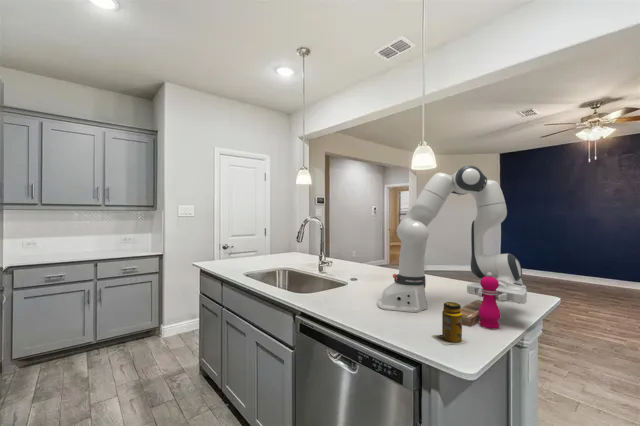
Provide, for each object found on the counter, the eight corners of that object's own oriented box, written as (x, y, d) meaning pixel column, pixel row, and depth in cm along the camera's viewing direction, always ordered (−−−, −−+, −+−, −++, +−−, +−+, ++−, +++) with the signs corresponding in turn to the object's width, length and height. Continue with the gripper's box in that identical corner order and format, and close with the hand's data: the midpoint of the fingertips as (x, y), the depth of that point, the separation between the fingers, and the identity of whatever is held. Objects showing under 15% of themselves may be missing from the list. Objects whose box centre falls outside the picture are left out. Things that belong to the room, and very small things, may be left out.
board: (470, 327, 113) (470, 318, 113) (449, 321, 118) (449, 313, 118) (496, 310, 131) (496, 303, 131) (477, 306, 137) (477, 299, 137)
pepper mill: (474, 322, 117) (474, 270, 117) (492, 322, 117) (492, 270, 117) (486, 329, 109) (486, 274, 109) (505, 329, 110) (505, 274, 110)
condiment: (467, 342, 99) (467, 306, 99) (445, 345, 97) (445, 308, 97) (453, 334, 106) (453, 300, 106) (431, 336, 104) (431, 301, 104)
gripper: (474, 277, 130) (460, 282, 120) (531, 286, 115) (520, 293, 105) (474, 292, 130) (460, 298, 120) (531, 303, 115) (520, 311, 105)
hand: (488, 296), depth 113 cm, fingers closed on pepper mill, 5 cm apart
